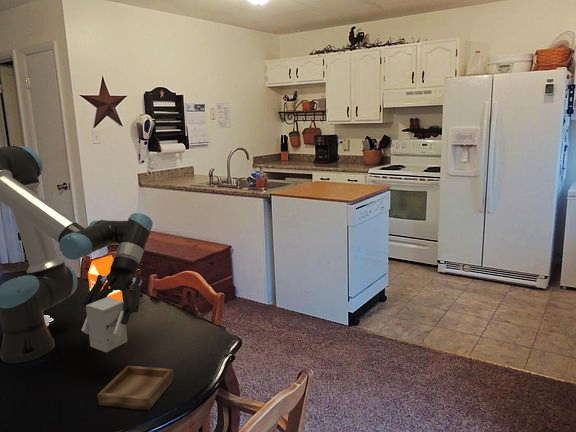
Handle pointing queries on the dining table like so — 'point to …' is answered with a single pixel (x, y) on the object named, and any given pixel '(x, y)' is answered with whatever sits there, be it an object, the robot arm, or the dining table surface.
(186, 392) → the dining table surface
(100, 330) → the supplement box
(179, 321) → the dining table surface
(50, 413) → the dining table surface
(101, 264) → the orange juice
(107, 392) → the tray
